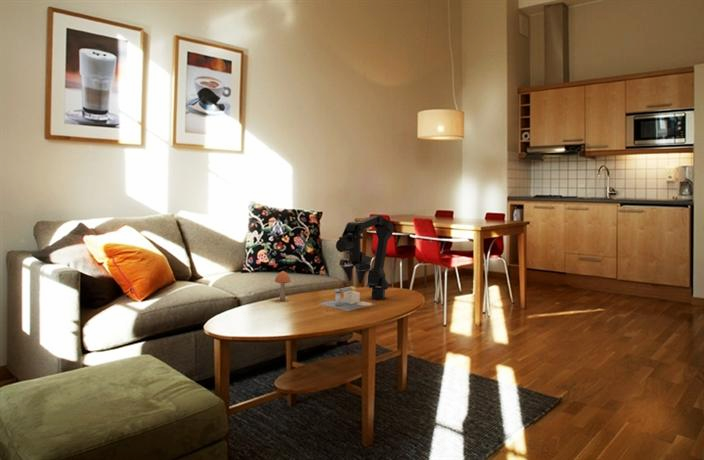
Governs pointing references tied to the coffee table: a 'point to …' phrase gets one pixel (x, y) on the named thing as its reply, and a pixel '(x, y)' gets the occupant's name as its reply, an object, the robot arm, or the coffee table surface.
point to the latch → (344, 289)
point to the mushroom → (282, 283)
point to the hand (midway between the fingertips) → (355, 282)
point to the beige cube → (351, 297)
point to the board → (342, 305)
